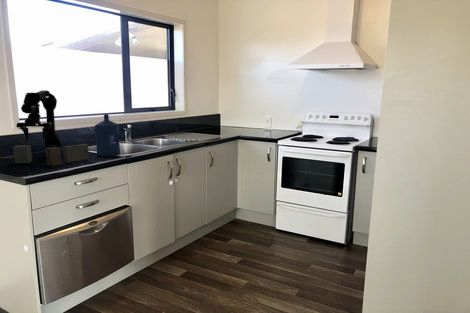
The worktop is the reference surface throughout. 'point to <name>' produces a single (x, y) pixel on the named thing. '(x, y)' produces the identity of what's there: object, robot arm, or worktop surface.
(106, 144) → the water jug
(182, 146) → the worktop surface
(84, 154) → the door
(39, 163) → the worktop surface
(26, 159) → the small box
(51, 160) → the oak post
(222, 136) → the worktop surface
